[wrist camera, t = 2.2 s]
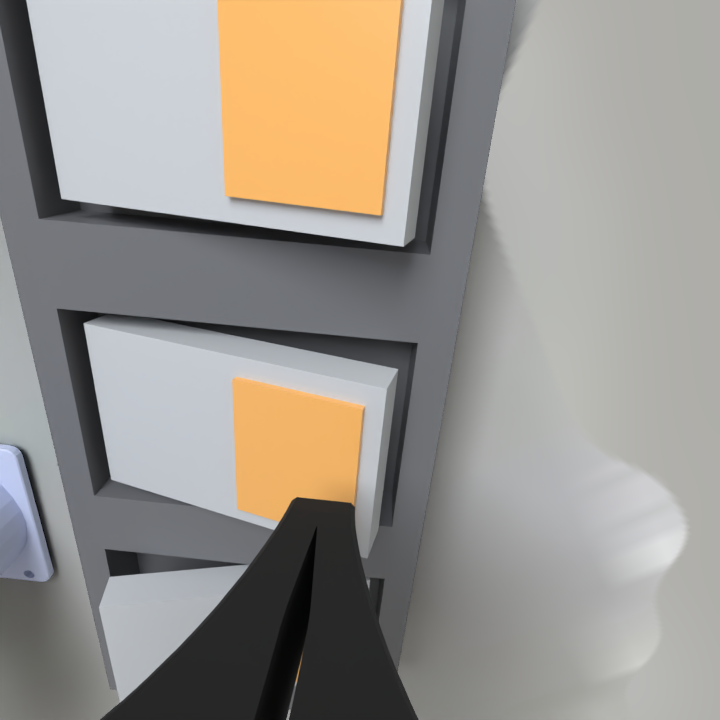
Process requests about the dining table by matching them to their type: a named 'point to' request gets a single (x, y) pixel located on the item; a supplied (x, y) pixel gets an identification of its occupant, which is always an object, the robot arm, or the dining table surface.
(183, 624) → the outlet rocker
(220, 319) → the power strip
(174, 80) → the rocker outlet
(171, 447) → the outlet rocker
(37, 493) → the dining table surface
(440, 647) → the dining table surface
